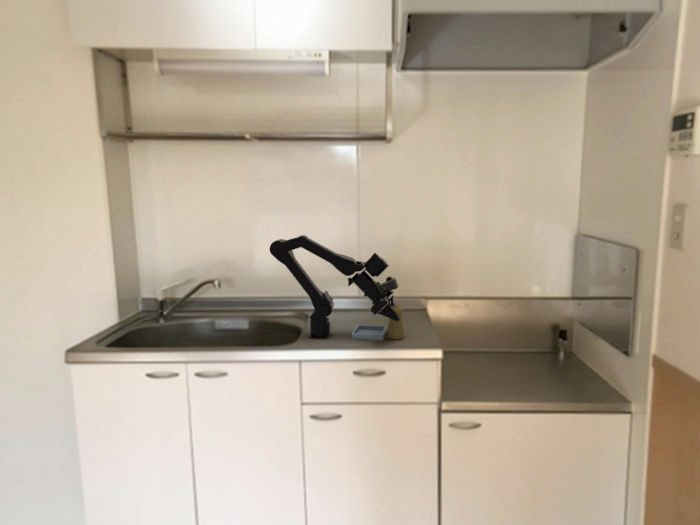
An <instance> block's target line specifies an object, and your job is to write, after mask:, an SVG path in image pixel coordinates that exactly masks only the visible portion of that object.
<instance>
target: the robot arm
mask: <svg viewBox="0 0 700 525" xmlns="http://www.w3.org/2000/svg"><path fill="white" fill-rule="evenodd" d="M300 248H302V249H304V250H306V251H308V252H309V253H311V254H313V255H315V256H317V257H319V258H321V259H322V260H324V261H326V262H328V263H329V264H331V265H332V266H333V267H334V268H335V269H336V270H337V271H338V272H340V273H341V275H344V276H346V277H348V278H347V280H348V282H347V283H348V284H347V286H348V287H350V286H351V285H353V284H354V285H355V286H356V287H358V289H359V290H360V291H361V292H362V293H363V296H364V298H368V299H369V300H370V301H371V304H372V305H371V307H370V312H371V313H372V314H373V315H374V316H376V315H381V316H383V317H386V318H387V319H388V318H391V319H393V320H396V321H399V320H400V318H399V317H398V316H397V314H396V313H395V311H394V310H393V309H392V307H391V306H393V305H396V304H395V302H394V293H395V292H394V290H397V289H398V287H399V283H398V282H397V281H398V280H397V279H396V277H392V276H391V275H390V276H387V277H386V279H385V281H384V282H382V283H380V282H379V281H376V280H374V279H373V278H374V277H376V278H378V277H379V276H380V275H382V273H383V272H385V271H386V269H388V268H389V267H390V266H389V263H388V262H387V261H386V260H385V259H384V258H383V257H381V256H380V255H379V254H378V253H376V252H374V253H372V255H371V256H370V257H369V259H367V261H365V262H364V261H358V260H356V259H355V258H353V257H351V256H348V255H345V254H341V253H338V252H335V251H333V250H332V249H330V248H328V247H325V245H322V244H320V243H318V242H316V241H315V240H313V239H311V238H309V237H308V236H307V235H305V234H302V235H300V236H296V237H293V238H290V239H287V240H286V239H284V238H283V239H282V238H281V239H280V238H279V239H277V240H274V241H273V242H271V243H270V245H269V253H270V254H271V255H272V256H273V257H274V258H275V259H276V260H277V261H278V262H279V263H281V264H282V265H283V266H285V267H286V268H287V270H288V271H289V272H290V273H291V275H292V276H293V277H294V278H295V280H296V282H298V285H300V287H301V288H302V289H303V290H304V291H305V293H306V294H307V296H308V297H309V298H310V302H311V303H312V307H313V308H314V309H313V311H312V313H311V314H310V315H309V319H310V324H309V325H310V335H309V338H310V339H328V338H329V337H330V335H331V334H332V323H331V322H330V317H329V316H330V315H331V314H332V312H333V310H334V308H335V303H334V298H333V297H331V295H330V294H329V292H328V290H325V291H324V292H323V291H322V290H321V289H319V288H318V286H317V285H316V284H315V283H314V280H312V278H311V277H310V275H309V274H308V273H307V272H306V270H305V269H304V268H303V266H302V265H301V264H300V263H299V261H298V260H297V259H296V257H295V254H294V250H297V249H300ZM352 275H353V276H352ZM350 276H352V277H350ZM391 295H392V296H391Z"/></svg>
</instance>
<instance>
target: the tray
mask: <svg viewBox="0 0 700 525" xmlns="http://www.w3.org/2000/svg"><path fill="white" fill-rule="evenodd" d="M387 331H388V326H387V325H374V324H373V325H368V324H366V325H365V324H357V325H356V327H355V328H354V330H353V331H352V333H351V340H353V339H354V340H356V341H357V340H358V341H376V342H377V341H379V342H382V341H384V338H385V336H387Z"/></svg>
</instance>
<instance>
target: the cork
mask: <svg viewBox="0 0 700 525" xmlns="http://www.w3.org/2000/svg"><path fill="white" fill-rule="evenodd" d="M391 307H392V309H393V310H394V311H395V313H396V314H397V316H398V317H399V318H400V320H399V321H396V320H393V319H391V318H389V319H388V326H387V332H386V337H387V338H388V339H392V340H401V339H404V338H405V333H404V326H403V318H402V317H403V316H402V315H403V313H404V308H403V307H402V306H401V305H398V304H397V305H396V304H395V305H393V306H391Z"/></svg>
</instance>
